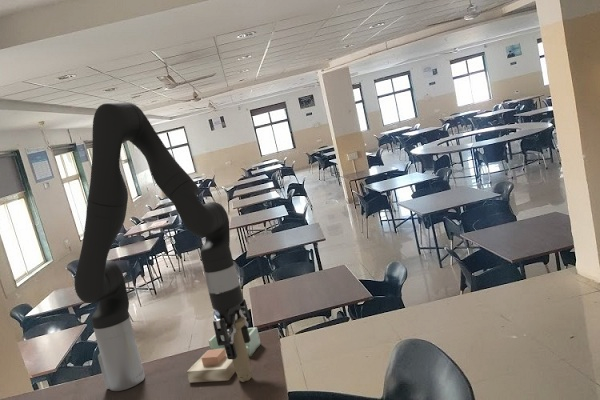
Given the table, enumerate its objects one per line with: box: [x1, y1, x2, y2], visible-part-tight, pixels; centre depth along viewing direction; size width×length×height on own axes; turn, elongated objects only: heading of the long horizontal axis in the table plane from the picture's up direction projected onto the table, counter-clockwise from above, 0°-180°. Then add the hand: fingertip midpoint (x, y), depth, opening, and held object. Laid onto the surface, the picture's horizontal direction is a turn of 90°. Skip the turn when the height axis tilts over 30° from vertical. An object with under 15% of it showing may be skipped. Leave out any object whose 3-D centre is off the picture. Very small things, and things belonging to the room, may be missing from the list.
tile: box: [200, 349, 226, 365], centre depth 131 cm, size 4×4×2 cm
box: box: [208, 326, 262, 357], centre depth 142 cm, size 12×8×5 cm, turn 74°
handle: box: [227, 317, 253, 383], centre depth 123 cm, size 5×6×15 cm
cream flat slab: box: [186, 349, 236, 384], centre depth 132 cm, size 11×12×3 cm
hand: (239, 350), depth 123 cm, fingers open, 8 cm apart
